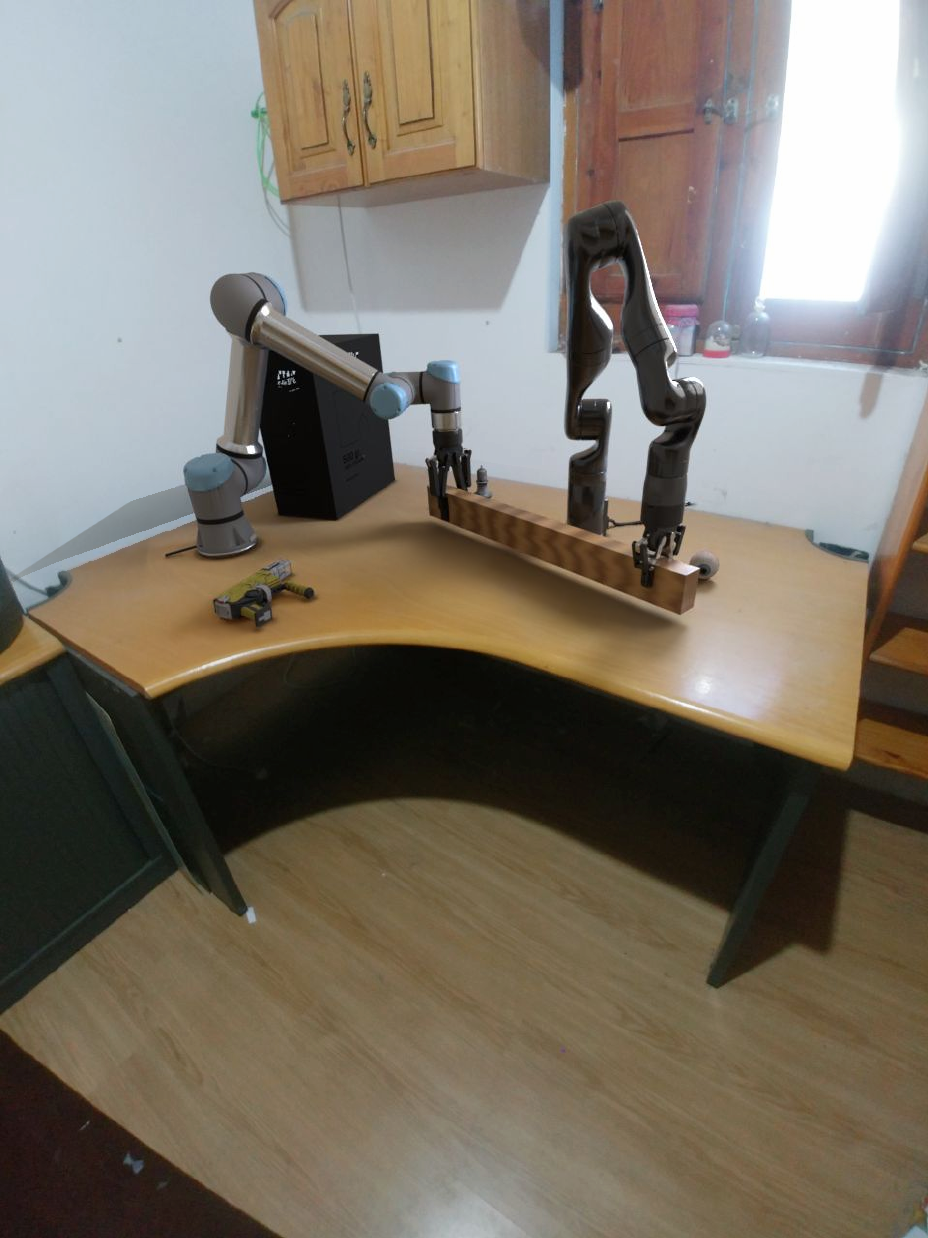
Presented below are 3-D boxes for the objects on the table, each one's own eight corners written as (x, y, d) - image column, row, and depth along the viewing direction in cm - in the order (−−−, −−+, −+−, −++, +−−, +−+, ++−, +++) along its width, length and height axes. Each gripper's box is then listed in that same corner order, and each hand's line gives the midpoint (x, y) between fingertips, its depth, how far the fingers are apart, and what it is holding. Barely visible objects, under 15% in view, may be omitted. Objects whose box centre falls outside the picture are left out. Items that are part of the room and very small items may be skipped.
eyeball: (686, 582, 128) (690, 556, 125) (688, 570, 133) (692, 545, 130) (716, 586, 126) (721, 559, 123) (717, 573, 131) (722, 547, 128)
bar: (693, 607, 115) (700, 568, 110) (680, 615, 112) (686, 575, 108) (442, 511, 168) (440, 482, 164) (429, 515, 165) (426, 486, 161)
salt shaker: (491, 509, 174) (490, 468, 168) (471, 508, 175) (469, 468, 169) (494, 502, 179) (493, 462, 173) (475, 502, 180) (473, 462, 174)
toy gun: (334, 567, 137) (277, 555, 141) (271, 613, 117) (207, 598, 121) (335, 586, 139) (279, 574, 143) (273, 634, 119) (211, 619, 123)
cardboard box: (342, 476, 210) (320, 334, 187) (395, 480, 203) (378, 333, 180) (278, 514, 179) (242, 350, 157) (337, 519, 173) (309, 349, 150)
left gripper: (464, 420, 157) (468, 506, 168) (409, 432, 147) (418, 523, 159) (483, 423, 152) (486, 512, 163) (427, 437, 142) (435, 530, 154)
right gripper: (668, 483, 115) (659, 565, 123) (621, 502, 107) (615, 588, 116) (704, 492, 110) (692, 576, 118) (658, 512, 102) (648, 601, 111)
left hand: (452, 517), depth 161 cm, fingers closed on bar, 4 cm apart
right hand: (654, 581), depth 117 cm, fingers closed on bar, 4 cm apart
